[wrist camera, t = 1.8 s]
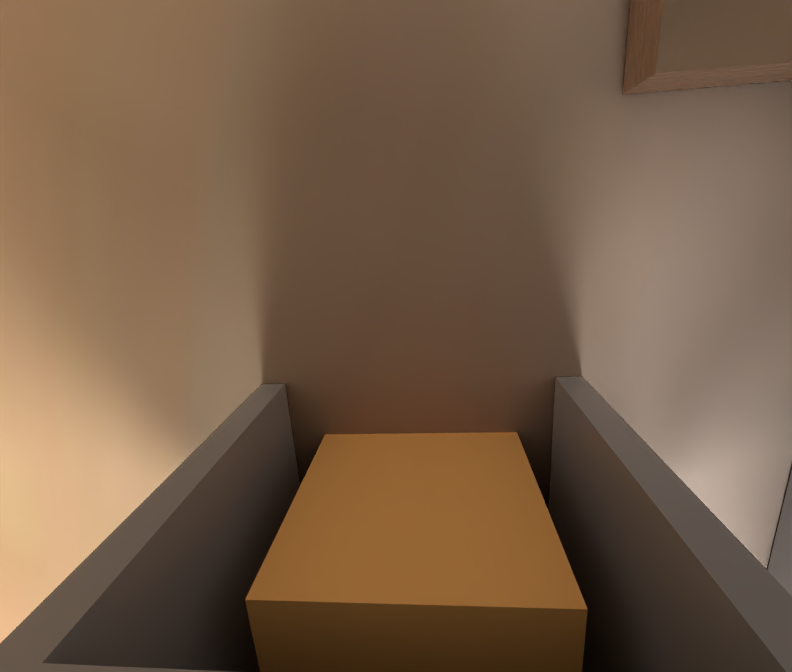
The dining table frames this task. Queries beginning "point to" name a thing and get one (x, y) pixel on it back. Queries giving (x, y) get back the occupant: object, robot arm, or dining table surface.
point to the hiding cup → (275, 491)
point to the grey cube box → (783, 544)
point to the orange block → (418, 563)
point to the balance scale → (706, 44)
